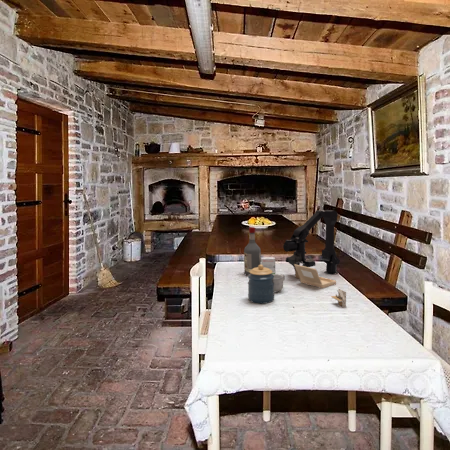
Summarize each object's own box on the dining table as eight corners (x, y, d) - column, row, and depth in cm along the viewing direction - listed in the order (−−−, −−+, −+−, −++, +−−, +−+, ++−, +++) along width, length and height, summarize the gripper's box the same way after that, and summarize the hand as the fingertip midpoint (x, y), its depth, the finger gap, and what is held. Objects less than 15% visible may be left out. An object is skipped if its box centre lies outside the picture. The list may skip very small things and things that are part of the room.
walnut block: (299, 276, 208) (299, 267, 207) (304, 278, 204) (304, 268, 204) (295, 277, 205) (295, 268, 204) (300, 279, 202) (300, 269, 201)
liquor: (256, 272, 221) (255, 226, 217) (262, 275, 212) (261, 228, 209) (243, 273, 218) (242, 227, 215) (248, 277, 209) (248, 228, 206)
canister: (256, 305, 160) (255, 268, 158) (243, 297, 172) (243, 263, 170) (279, 301, 165) (279, 265, 163) (265, 293, 177) (265, 260, 175)
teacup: (270, 295, 175) (270, 279, 174) (259, 289, 184) (258, 275, 183) (292, 290, 181) (292, 276, 180) (279, 285, 191) (279, 271, 190)
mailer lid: (294, 264, 191) (294, 264, 191) (315, 268, 179) (315, 269, 179) (300, 278, 195) (300, 278, 195) (322, 283, 183) (321, 284, 183)
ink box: (275, 275, 212) (274, 257, 210) (275, 277, 207) (275, 258, 205) (261, 275, 212) (260, 257, 211) (261, 277, 207) (261, 258, 206)
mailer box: (313, 278, 203) (313, 275, 202) (336, 284, 190) (336, 280, 190) (300, 282, 196) (300, 279, 195) (322, 288, 183) (322, 284, 183)
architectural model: (339, 308, 154) (339, 293, 154) (330, 303, 161) (331, 288, 160) (346, 307, 155) (346, 292, 155) (337, 303, 162) (337, 287, 161)
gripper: (279, 249, 205) (279, 274, 207) (303, 254, 191) (303, 281, 192) (291, 247, 212) (291, 271, 214) (316, 251, 197) (315, 277, 199)
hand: (300, 275), depth 205 cm, fingers closed on walnut block, 4 cm apart
